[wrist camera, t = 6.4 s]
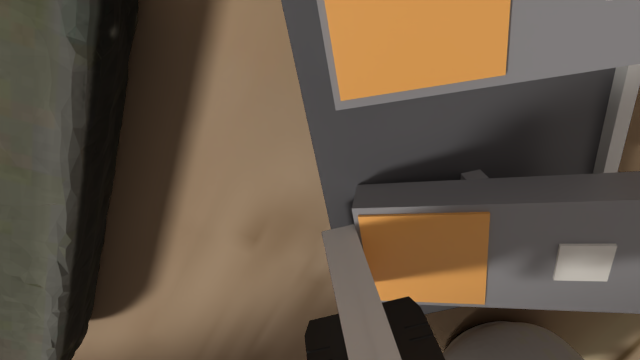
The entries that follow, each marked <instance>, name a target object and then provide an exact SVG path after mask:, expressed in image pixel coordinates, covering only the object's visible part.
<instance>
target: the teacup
mask: <svg viewBox="0 0 640 360" xmlns="http://www.w3.org/2000/svg"><path fill="white" fill-rule="evenodd" d="M443 356H444V358H445V360H584V359H583V358H582V357H581V356H580V355H579V354H578V353H577V352H576V351H575V350H574V349H573V348H572V347H571V346H570V345H569V344H568V343H567V342H565V341H564V340H563V339H562V338H561V337H559V336H558V335H556V334H555V333H553V332H551V331H550V330H547V329H545V328H543V327H540V326H537V325H534V324H529V323H521V322H506V321H496V322H489V323H485V324H481V325H478V326H475V327H473V328H471V329H469V330H467V331H465V332H463V333H462V334H461V335H459V336H458V337H456V338H455V339H454V340H453V341H452V342H451V343H450V344H449V346H448V347H447V348H446V349H445V351H444V352H443Z"/></svg>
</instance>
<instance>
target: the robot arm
mask: <svg viewBox="0 0 640 360" xmlns="http://www.w3.org/2000/svg"><path fill="white" fill-rule="evenodd" d="M322 237H323V241H324V246H325V251H326V256H327V260H328V265H329V270H330V274H331V279H332V284H333V289H334V293H335V298H336V303H337V307H338V312H339V314H336V315H331V316H327V317H323V318H319V319H315V320H310V321H309V324H308V327H307V330H306V333H305V344H306V352H307V360H445V358H444V356H443V354H442V351H441V349H440V347H439V345H438V343H437V341H436V339H435V337H434V335H433V332H432V330H431V328H430V326H429V325H428V321H427V319H426V317H425V315H424V313H423V311H422V309H421V307H420V306H419V305H418V304H417V303H416V302H415V301H413V300H412V299H411V298H410V297H409V296H408V297H403V298H399V299H395V300H391V301H387V302H381V300H380V297H379V294H378V291H377V288H376V285H375V283H374V280H373V277H372V274H371V271H370V268H369V266H368V263H367V260H366V257H365V254H364V251H363V249H362V246H361V243H360V240H359V237H358V234H357V231H356V230H355V226H354V224H353V225H348V226H344V227H340V228H336V229H331V230H327V231H323V232H322Z"/></svg>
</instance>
